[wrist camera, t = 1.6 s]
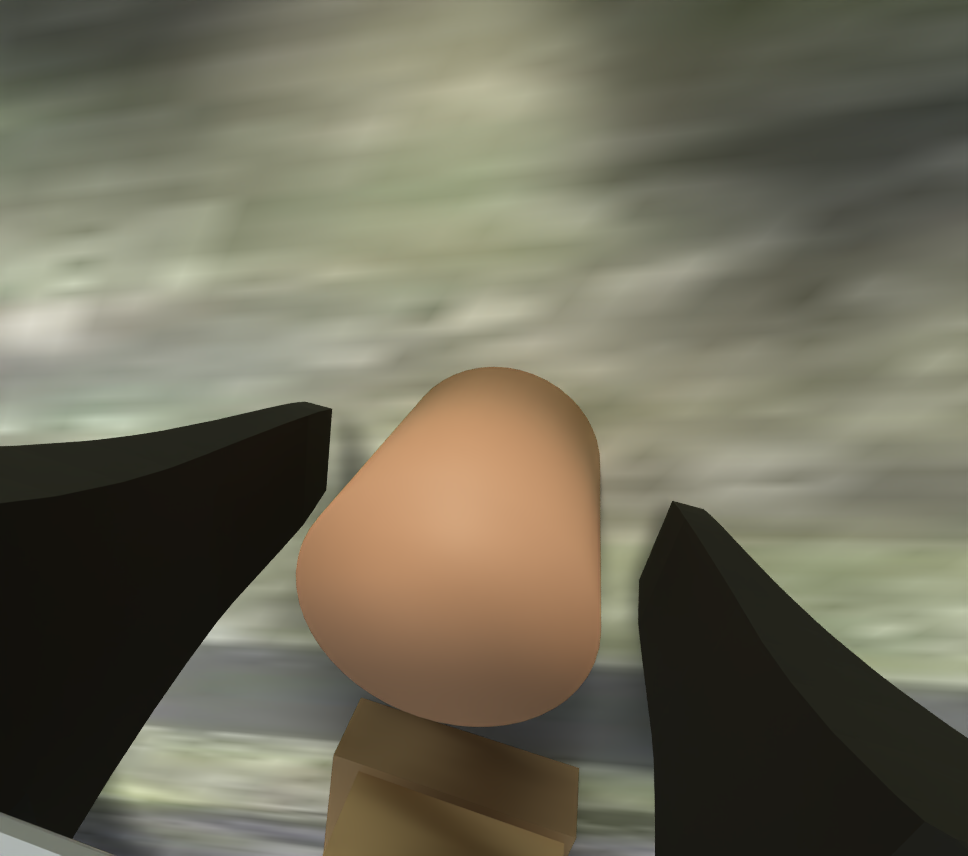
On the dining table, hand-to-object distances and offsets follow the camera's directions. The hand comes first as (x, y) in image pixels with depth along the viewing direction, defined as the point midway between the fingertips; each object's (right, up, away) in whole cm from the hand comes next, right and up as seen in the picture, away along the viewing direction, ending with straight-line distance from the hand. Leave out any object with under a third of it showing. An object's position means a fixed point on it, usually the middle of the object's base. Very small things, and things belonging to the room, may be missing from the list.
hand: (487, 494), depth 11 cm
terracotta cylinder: (0, +1, +1) cm, 2 cm away
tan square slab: (-1, -11, +7) cm, 13 cm away
